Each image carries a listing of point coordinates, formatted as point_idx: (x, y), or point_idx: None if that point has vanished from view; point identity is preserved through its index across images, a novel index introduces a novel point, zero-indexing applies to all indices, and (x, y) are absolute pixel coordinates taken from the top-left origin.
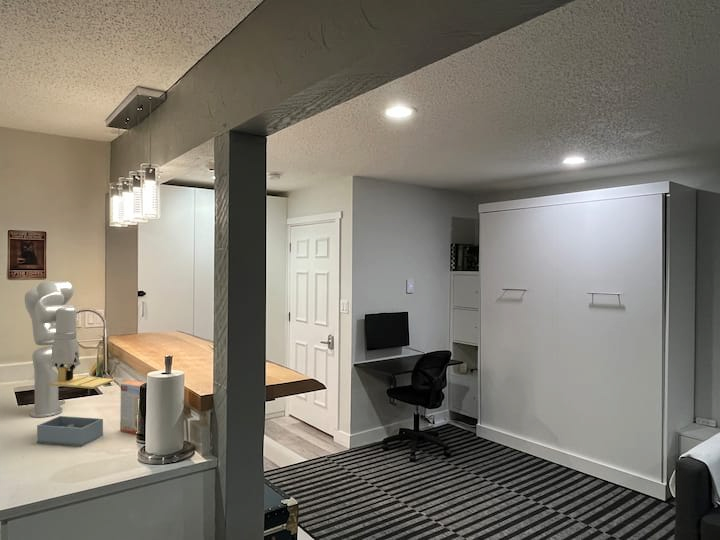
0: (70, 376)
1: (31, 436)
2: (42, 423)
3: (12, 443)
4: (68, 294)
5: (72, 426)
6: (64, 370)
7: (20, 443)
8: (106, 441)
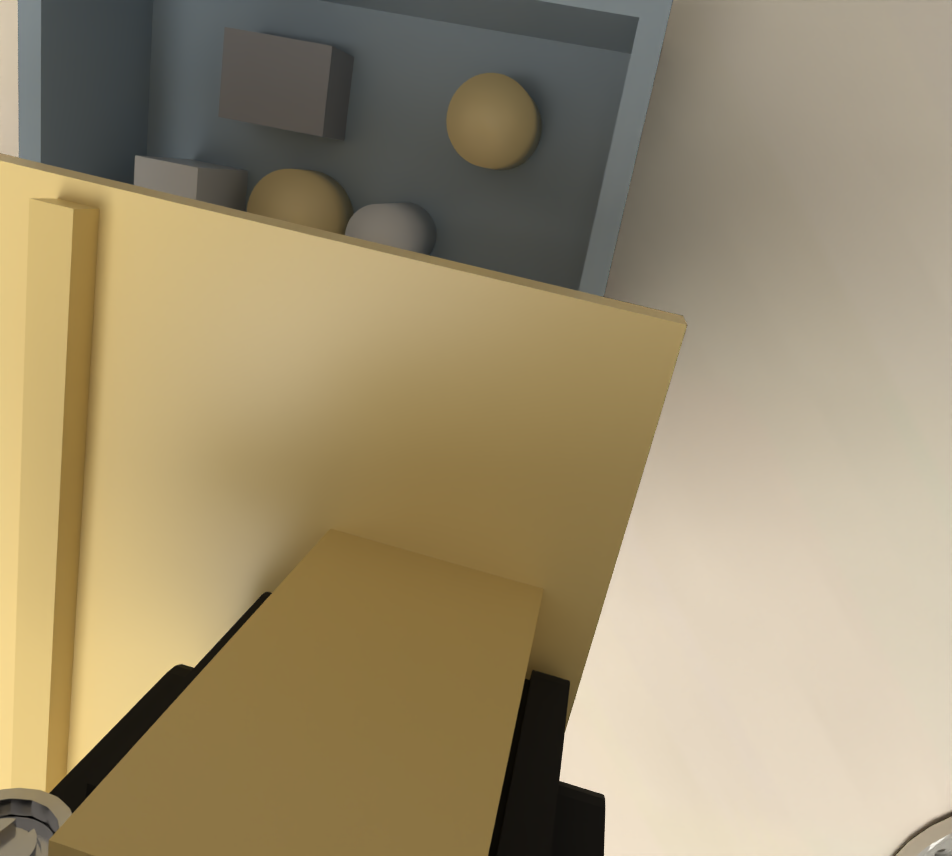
0: (157, 690)
1: (831, 242)
2: (646, 85)
3: (940, 13)
4: None
5: (353, 221)
6: (125, 767)
7: (843, 16)
8: (15, 101)
